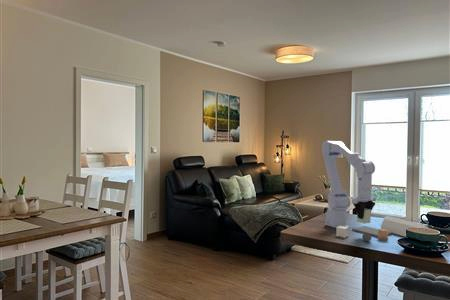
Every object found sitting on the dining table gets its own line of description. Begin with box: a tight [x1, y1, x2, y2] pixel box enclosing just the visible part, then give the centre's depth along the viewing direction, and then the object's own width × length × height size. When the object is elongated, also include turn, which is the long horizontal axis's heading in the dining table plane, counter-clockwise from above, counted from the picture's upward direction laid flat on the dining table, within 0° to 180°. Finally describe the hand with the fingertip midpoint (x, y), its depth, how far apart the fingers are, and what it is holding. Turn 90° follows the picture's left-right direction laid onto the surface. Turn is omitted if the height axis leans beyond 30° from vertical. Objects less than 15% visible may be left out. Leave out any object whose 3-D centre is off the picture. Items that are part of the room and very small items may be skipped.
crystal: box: [380, 215, 430, 238], centre depth 150 cm, size 7×7×24 cm
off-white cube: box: [335, 226, 350, 239], centre depth 147 cm, size 4×4×4 cm
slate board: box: [351, 225, 393, 238], centre depth 154 cm, size 14×10×1 cm
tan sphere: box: [377, 228, 389, 241], centre depth 143 cm, size 4×4×4 cm
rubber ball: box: [361, 233, 372, 243], centre depth 139 cm, size 4×4×4 cm
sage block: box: [356, 208, 372, 224], centre depth 147 cm, size 4×4×6 cm
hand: (363, 217), depth 147 cm, fingers closed on sage block, 4 cm apart
